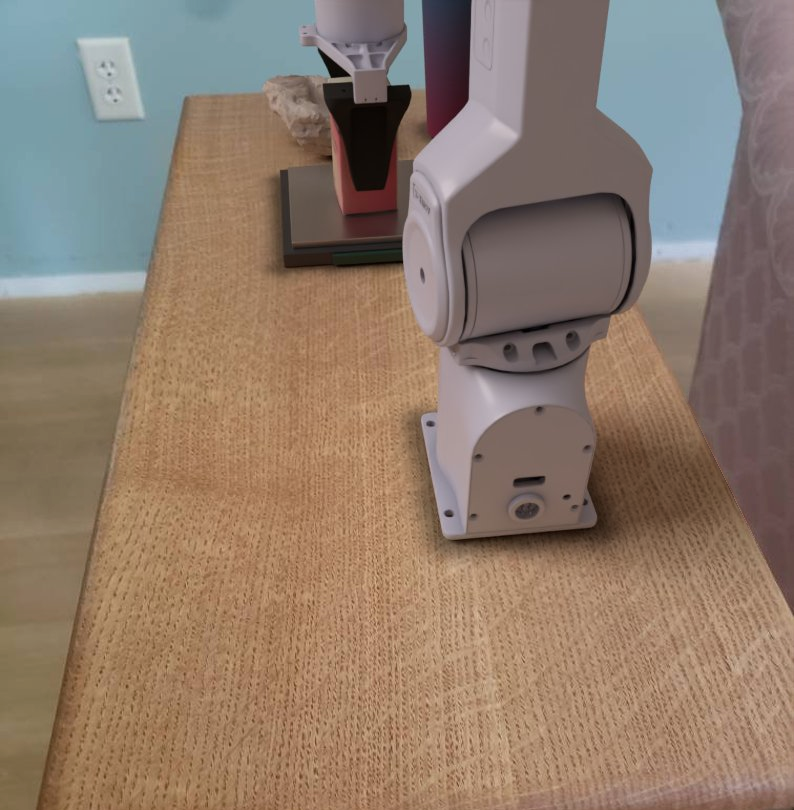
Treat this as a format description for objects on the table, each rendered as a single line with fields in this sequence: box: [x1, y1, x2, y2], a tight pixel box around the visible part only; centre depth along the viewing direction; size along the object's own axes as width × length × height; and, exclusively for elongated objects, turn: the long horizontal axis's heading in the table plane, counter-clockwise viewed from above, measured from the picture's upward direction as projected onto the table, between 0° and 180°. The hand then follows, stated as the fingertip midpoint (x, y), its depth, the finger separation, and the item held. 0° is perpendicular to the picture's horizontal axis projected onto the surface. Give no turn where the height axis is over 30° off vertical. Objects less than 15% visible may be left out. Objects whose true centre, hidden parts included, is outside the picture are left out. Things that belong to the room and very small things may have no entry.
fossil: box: [262, 74, 332, 157], centre depth 73 cm, size 9×6×10 cm
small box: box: [328, 77, 399, 215], centre depth 61 cm, size 5×4×8 cm
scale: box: [279, 159, 415, 268], centre depth 65 cm, size 13×13×2 cm
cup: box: [421, 0, 472, 139], centre depth 70 cm, size 7×7×15 cm
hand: (365, 166), depth 63 cm, fingers open, 6 cm apart
